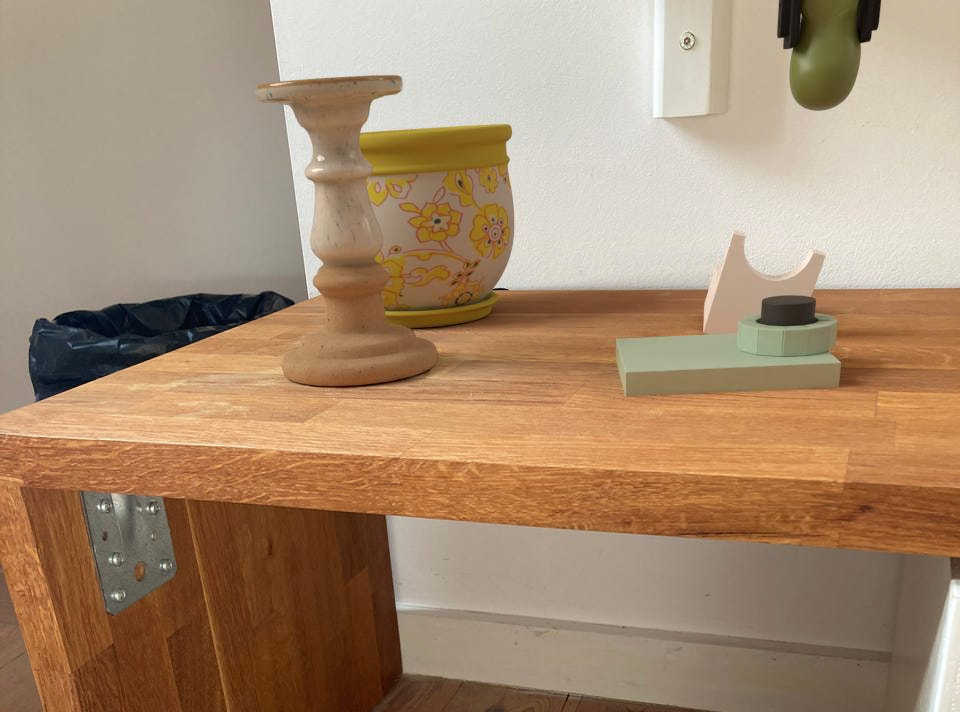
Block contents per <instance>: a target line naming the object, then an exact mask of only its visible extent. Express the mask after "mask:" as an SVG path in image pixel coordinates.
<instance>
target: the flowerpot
mask: <svg viewBox="0 0 960 712" xmlns="http://www.w3.org/2000/svg"><path fill="white" fill-rule="evenodd" d="M512 137H513V127H512V125H510V124H508V123H496V124H495V123H494V124H492V123H491V124H473V125H456V126H439V127H437V126H436V127H425V128H424V127H423V128H421V127H420V128H407V129H393V130H392V129H391V130H378V131H376V130H375V131H363V132H360V138H359V144H360V150H361V152H362V155H363V156H364V158H365V159H366V160H367V161H369V162H370V163H371V164H372V166H373V172H372V174H371V175H370V176H369V177H367V179H366V185H367V190H368V194H369V198H370V202H371V205H372V208H373V211H374V214H375V217H376V219H377V222H378V224H379V226H380V229H381V232H382V235H383V246H382V249H381V250H380V252H379V253H378V254H377V256H376V257H375V261H377V262H378V263H380V264H381V265H382V267H383V269H385V270H386V271H387V272H388V273H389V281H388V282H387V283H386V285H385V288H384V289H383V290H382V292H381V294H382V300H383V305H384V309H385V314H386V318H387V322H388V324H391V325H400V326H404V327H407V328H410V329H421V328H423V329H425V328H437V327H445V326H446V327H447V326H454V325H459V324H464V323H469V322H474V321H477V320H481V319H483V318H485V317H487V316H489V314H490V313H491V312H492V309H493V306H494V305H495V304H496V303H497V302H499V301H500V297H501V296H500V295H499V294H498V293H497V292H495V291H493V289H494V288H495V287H496V286H497V284H498V283H499V282H500V280H501V278H502V276H503V274H504V272H505V270H506V269H507V266H508V264H509V262H510V257H511V254H512V251H513V246H514V239H515V208H514V197H513V190H512V185H511V180H510V174H509V164H510V161H511V159H510V156H509V155H508V153H507V142H508V141H509V140H511V138H512Z"/></svg>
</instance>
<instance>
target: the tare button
mask: <svg viewBox="0 0 960 712" xmlns="http://www.w3.org/2000/svg"><path fill="white" fill-rule="evenodd" d="M816 306H817V299H816V298H815V297H812V296H811V297H809V296H799V295H784V296H773V297H768V298H765V299H763V300H762V306H761V321H760V324H764V325H769V326H803V325H809V324H814V320H815V313H816V308H817V307H816Z"/></svg>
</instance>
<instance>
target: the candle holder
mask: <svg viewBox="0 0 960 712" xmlns="http://www.w3.org/2000/svg"><path fill="white" fill-rule="evenodd" d="M403 89H404V80H403V77H402V76H401V75H398V74H376V75H375V74H374V75H373V74H371V75H353V76H334V77H333V76H332V77H320V78H306V79H304V78H303V79H293V80H282V81H281V80H280V81H271V82H263V83H258V84H256V85H255V87H254V94H255V97H256V99H257V101H258V102H260V103H263V104H276V105H283V106H289V108H291V110H292V112H293V115H294V117H295V119H296V122H297V123H298V125H299V126H300V127H301V128H303V129H304V131H306V132H307V134H308V136H309V139H310V142H311V147H312V157H311V160H310V162H309V164H308V165H306V167H305V168H304V170H303V172H304V173H303V174H304V176H305V178H306V179H307V180H309V181H311V182H312V183H313V185H314V208H313V219H312V225H311V231H310V238H309V244H310V250H311V251H312V253H313V254H314V255H315V256H316V257H317V258H318V259H319V261H321V262H322V264H323V265H321V266H320V267H319V268H318V269H317V273H316V274H315V275H314V276H313V278H312V282H311V283H312V286H313V287H314V288H315V289H316V290H318V293H320V295H322V297H324V329H321V330H318V331H315V332H311V333H309V334H307V335H306V336H304V337H303V338H302V339H300V343H299V345H298V347H295V348H293V349H291V350H289V351H288V352H286V353H285V354H284V356H283V357H282V360H281V371H282V372H283V373H282V374H283V375H284V377H285V378H286V379H288V380H289V381H292V382H293V383H294V382H295V383H298V384H304V385H309V386H319V387H320V386H321V387H347V386H348V387H350V386H362V385H373V384H380V383H386V382H394V381H399V380H403V379H406V378H407V379H408V378H410V377H415V376H418V375H420V374H423V373H425V372H427V371H429V370H430V369H432V368H434V366H436V364H437V362H438V357H439V355H438V348H437V346H436V345H435V344H434V342H432V341H431V340H429V339H427V338H423V337H420V336H419V337H418V336H417V335H416V334H415V332H414V330H413V329H412V328H407V327H404V326H400V325H391V324H388V322H387V318H386V314H385V309H384V305H383V300H382V294H381V292H382V290H383V289H384V288H385V285H386V283H387V282H388V281H389V273H388V272H387V271H386V270H385V269H383V267H382V265H381V264H380V263H378V262H377V261H375V257H376V256H377V254H378V253H379V252H380V250H381V249H382V246H383V235H382V232H381V229H380V226H379V224H378V222H377V219H376V217H375V214H374V211H373V208H372V205H371V202H370V198H369V194H368V190H367V185H366V179H367V177H369V176H370V175H371V174H372V172H373V166H372V164H371V163H370V162H369V161H367V160H366V159H365V158H364V156H363V155H362V152H361V150H360V144H359V138H360V133H361V131H362V128H363V126H364V125H365V124H366V123H367V121H368V119H369V116H370V111H371V106H372V103H373V101H374V100H378V99H381V98H384V97H389V96H395V95H398V94H401V92H403Z"/></svg>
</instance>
